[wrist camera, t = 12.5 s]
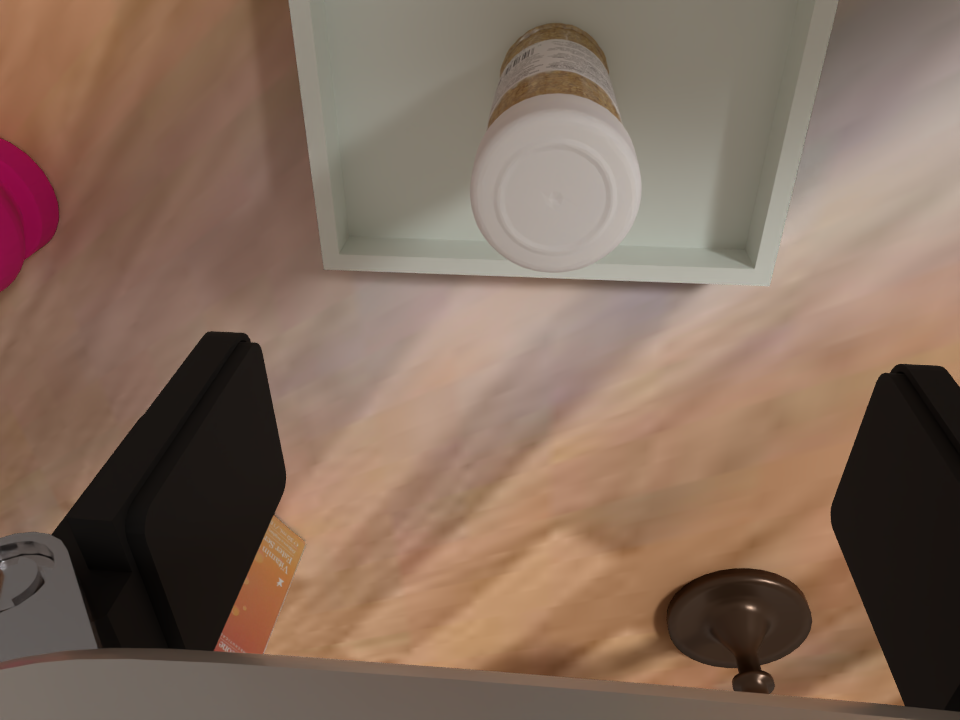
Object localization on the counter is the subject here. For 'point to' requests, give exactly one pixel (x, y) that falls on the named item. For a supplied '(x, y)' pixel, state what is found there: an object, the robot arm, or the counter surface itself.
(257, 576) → the small box
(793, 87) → the tray
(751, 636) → the candlestick
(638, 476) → the counter surface
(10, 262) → the pepper mill
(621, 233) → the sprinkles bottle
